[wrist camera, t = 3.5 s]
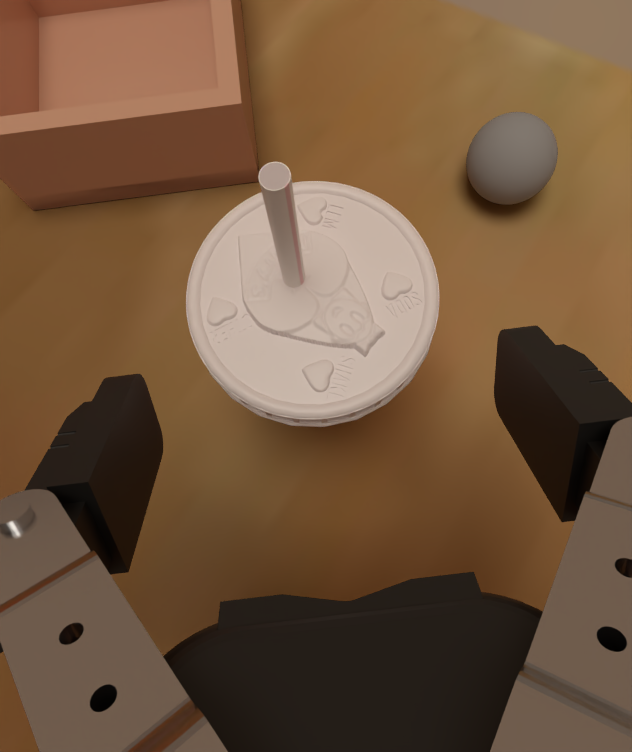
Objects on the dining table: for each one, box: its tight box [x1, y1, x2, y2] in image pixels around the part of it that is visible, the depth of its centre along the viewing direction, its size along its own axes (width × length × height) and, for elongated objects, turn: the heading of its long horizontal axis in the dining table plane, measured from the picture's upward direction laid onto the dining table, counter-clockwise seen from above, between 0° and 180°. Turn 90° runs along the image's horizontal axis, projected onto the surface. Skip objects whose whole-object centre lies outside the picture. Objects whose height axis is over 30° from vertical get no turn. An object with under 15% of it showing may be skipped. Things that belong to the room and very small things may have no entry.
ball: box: [466, 112, 558, 205], centre depth 23 cm, size 4×4×4 cm
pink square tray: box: [0, 0, 259, 211], centre depth 24 cm, size 11×11×5 cm
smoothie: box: [186, 162, 439, 427], centre depth 16 cm, size 6×6×14 cm
